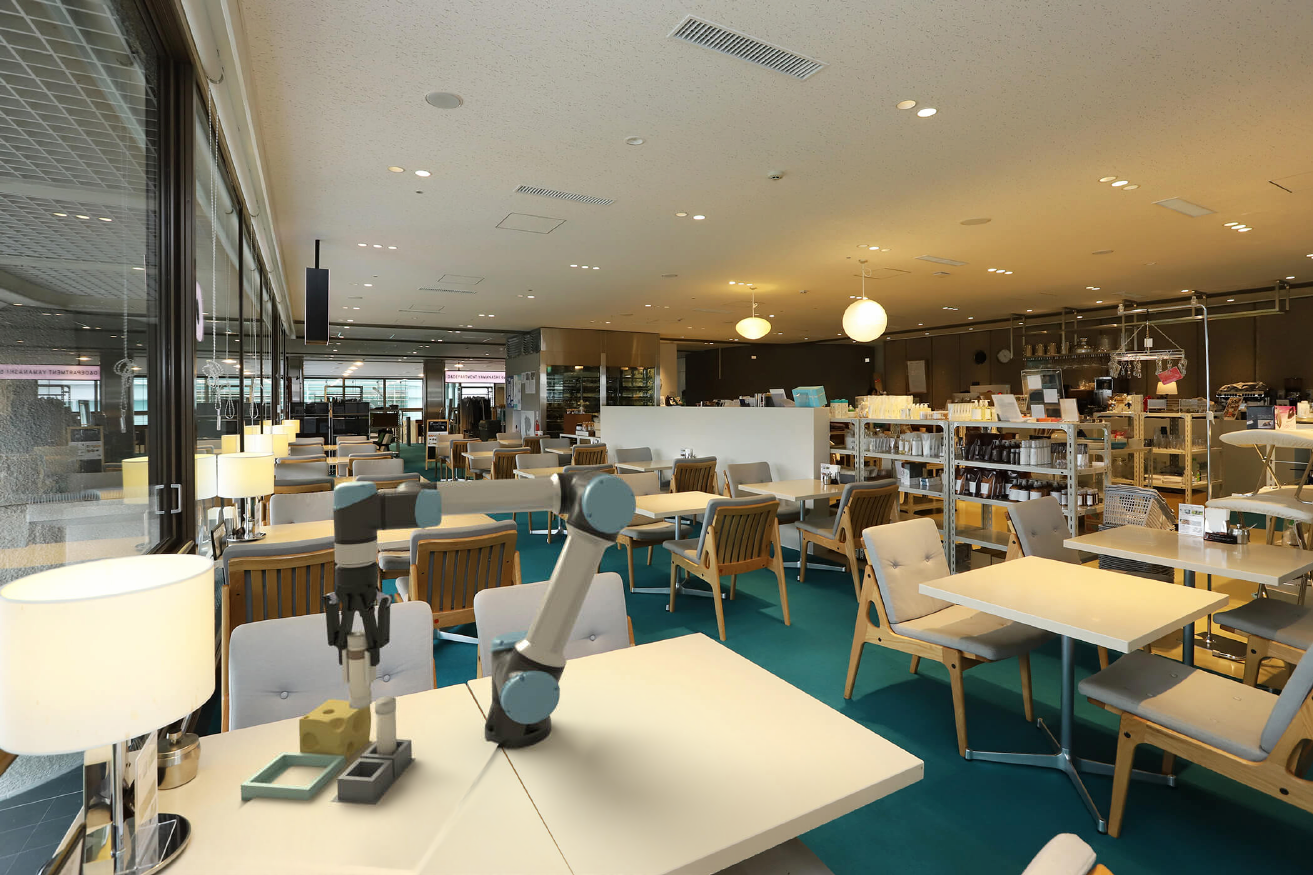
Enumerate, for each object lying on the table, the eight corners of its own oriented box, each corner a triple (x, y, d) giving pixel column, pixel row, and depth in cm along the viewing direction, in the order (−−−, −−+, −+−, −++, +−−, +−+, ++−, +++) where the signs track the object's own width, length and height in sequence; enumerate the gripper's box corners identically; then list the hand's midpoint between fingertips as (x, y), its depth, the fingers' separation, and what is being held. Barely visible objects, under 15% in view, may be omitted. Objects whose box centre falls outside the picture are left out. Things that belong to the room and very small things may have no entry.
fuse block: (415, 762, 139) (414, 694, 139) (375, 809, 124) (373, 732, 123) (376, 760, 140) (374, 692, 140) (330, 806, 125) (328, 729, 124)
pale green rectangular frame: (345, 769, 137) (345, 755, 137) (308, 804, 125) (308, 789, 125) (283, 765, 139) (282, 751, 138) (241, 799, 127) (240, 784, 127)
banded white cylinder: (375, 699, 129) (374, 630, 128) (364, 709, 125) (362, 637, 125) (356, 698, 130) (354, 629, 129) (345, 708, 126) (342, 637, 125)
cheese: (341, 769, 137) (340, 723, 137) (296, 763, 139) (295, 718, 139) (372, 743, 147) (371, 700, 147) (330, 738, 150) (329, 696, 149)
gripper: (408, 558, 129) (410, 675, 130) (327, 556, 131) (330, 671, 132) (388, 568, 121) (391, 691, 123) (303, 566, 123) (306, 687, 124)
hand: (359, 680), depth 127 cm, fingers closed on banded white cylinder, 4 cm apart
